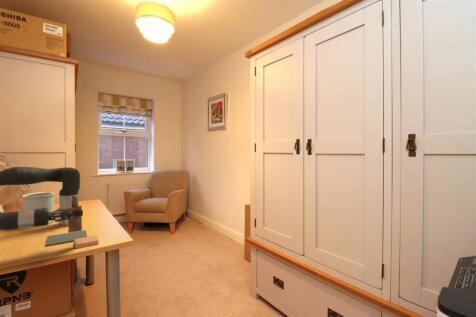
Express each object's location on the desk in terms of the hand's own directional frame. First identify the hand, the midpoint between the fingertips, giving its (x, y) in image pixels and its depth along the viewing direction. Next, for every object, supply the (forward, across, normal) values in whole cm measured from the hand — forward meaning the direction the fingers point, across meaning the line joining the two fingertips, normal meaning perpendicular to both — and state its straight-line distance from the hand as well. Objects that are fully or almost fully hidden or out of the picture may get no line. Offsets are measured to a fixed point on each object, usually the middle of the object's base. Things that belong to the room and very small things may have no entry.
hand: (82, 212), depth 111 cm
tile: (+2, 0, +14) cm, 14 cm away
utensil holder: (-19, +52, +15) cm, 58 cm away
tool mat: (-6, +13, +15) cm, 21 cm away
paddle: (-3, 0, +8) cm, 9 cm away
